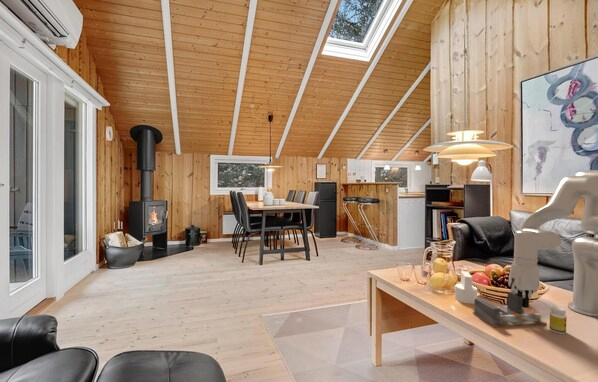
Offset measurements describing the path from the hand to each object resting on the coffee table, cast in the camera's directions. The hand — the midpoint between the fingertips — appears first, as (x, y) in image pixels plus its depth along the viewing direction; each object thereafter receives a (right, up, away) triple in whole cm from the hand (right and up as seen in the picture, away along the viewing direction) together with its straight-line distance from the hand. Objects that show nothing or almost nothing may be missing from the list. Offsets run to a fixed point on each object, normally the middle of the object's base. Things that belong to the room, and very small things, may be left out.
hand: (523, 306), depth 122 cm
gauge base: (-7, -5, -1) cm, 8 cm away
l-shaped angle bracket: (-7, -4, -2) cm, 8 cm away
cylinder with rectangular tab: (-13, -4, +19) cm, 23 cm away
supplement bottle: (+5, -5, -10) cm, 13 cm away
